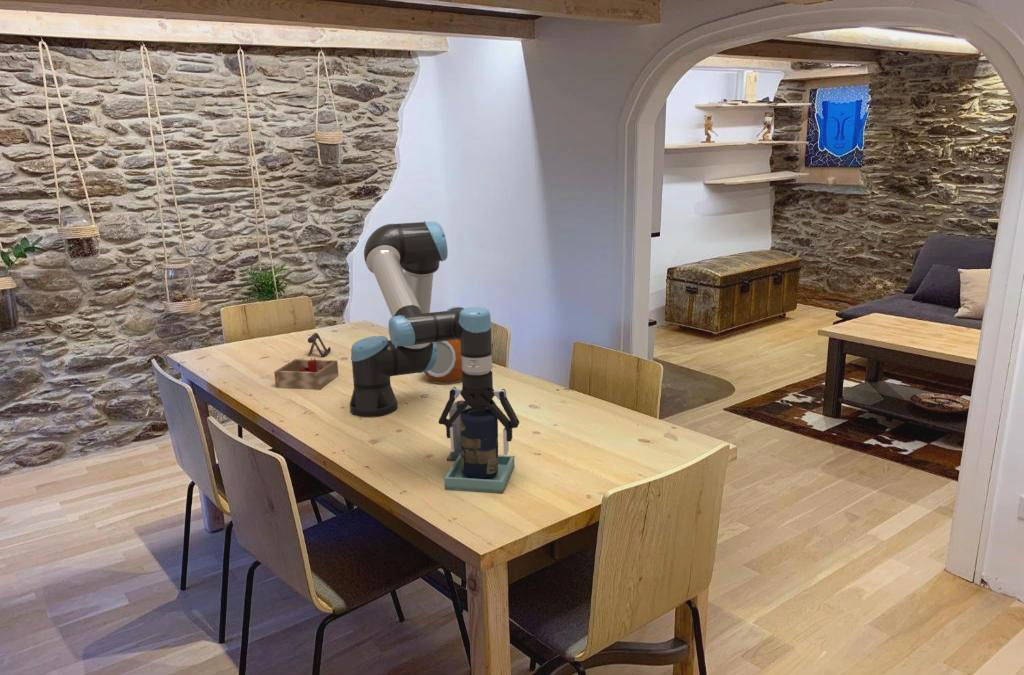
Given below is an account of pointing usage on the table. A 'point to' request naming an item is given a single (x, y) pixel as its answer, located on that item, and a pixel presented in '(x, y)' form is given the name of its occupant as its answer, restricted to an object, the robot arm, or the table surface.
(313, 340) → the portable electronic device stand
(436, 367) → the alarm clock
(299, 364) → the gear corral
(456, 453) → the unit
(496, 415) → the robot arm
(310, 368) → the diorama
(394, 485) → the table surface
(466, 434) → the canister
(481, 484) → the tray
